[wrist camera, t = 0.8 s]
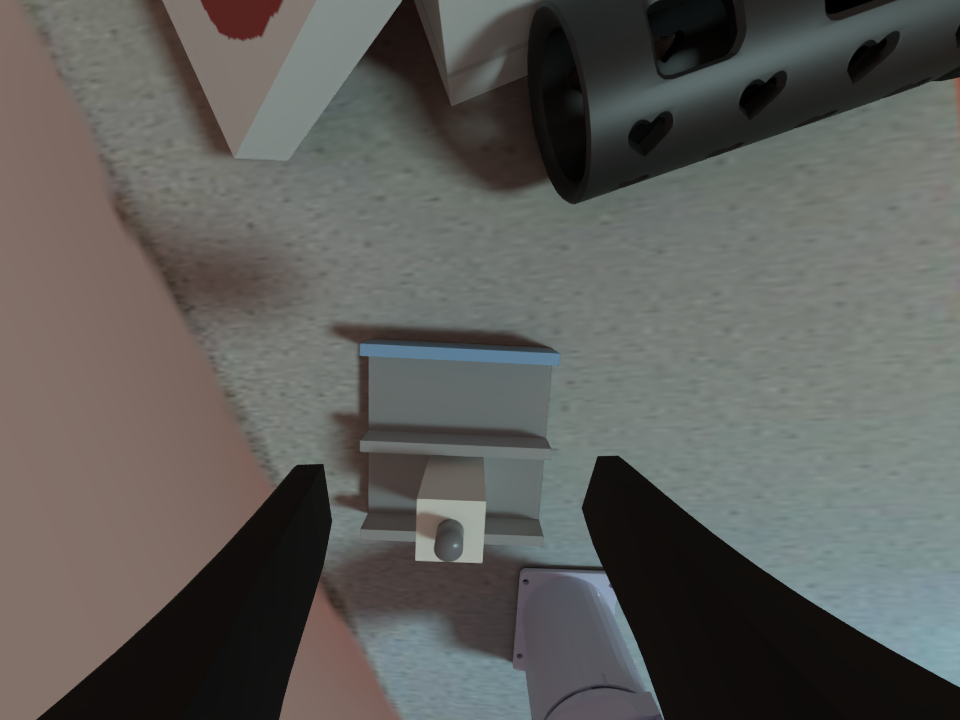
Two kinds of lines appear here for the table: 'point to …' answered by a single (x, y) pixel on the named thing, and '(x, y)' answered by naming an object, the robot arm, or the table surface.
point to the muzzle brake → (714, 76)
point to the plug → (451, 510)
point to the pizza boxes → (331, 57)
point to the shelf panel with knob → (457, 430)
